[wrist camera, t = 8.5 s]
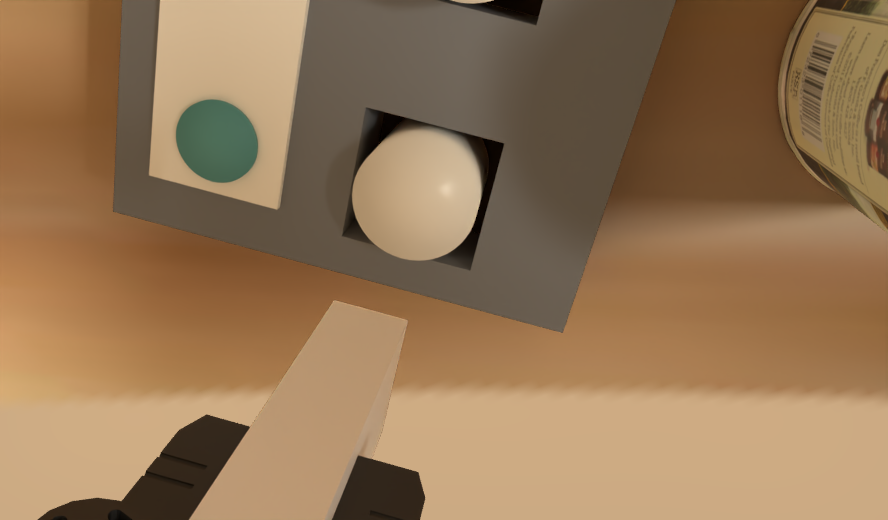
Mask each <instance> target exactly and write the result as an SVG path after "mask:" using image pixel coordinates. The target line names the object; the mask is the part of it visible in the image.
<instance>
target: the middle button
mask: <svg viewBox="0 0 888 520" xmlns="http://www.w3.org/2000/svg"><path fill="white" fill-rule="evenodd" d="M452 1H455V2H461V3H484V2H488V1H492V0H452Z"/></svg>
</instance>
